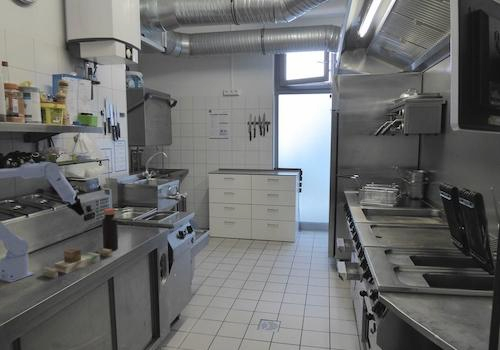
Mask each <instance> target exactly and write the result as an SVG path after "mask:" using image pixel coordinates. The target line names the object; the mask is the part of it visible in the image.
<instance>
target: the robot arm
mask: <svg viewBox="0 0 500 350" xmlns="http://www.w3.org/2000/svg"><path fill="white" fill-rule="evenodd" d="M14 177H15V178H16V177H21V178H22V179H24V180H26V179H35V178H43V177H46V179H47V180H48V181H49V183H50V184H51V186H52V187H53V189H54V190H55V191H56V193H57V194H58V195H59V196H60V198H61V200H62V201H63V202H67V204H66V207H68V209H69V210H70V209H71V210H72V211H74V212H75V213H76V214H77V215H78V216H80V217H81V216H83V215H84V214H85V210H84V209H83V206H82V203H81V199H80V198H78V193H79V190H78V189H74V188H73V187H72V185H71V184H70V183H69V181H68V180H67V178H66V176H64V174H63V173H62V172H61V168H60V165H58V164H56V163H54V162H50V161H39V162H37V163H31V162H25V163H24V164H21V165H20V166H19V167H17V168H2V169H1V168H0V180H1V179H8V178H9V179H10V178H14ZM0 241H1V242H2V243H3V244H4V248H5V249H6V250H7V252H6V253H5V256H4V257H2V258H0V281H5V282H7V283H13V282H15V281H19V280H21V279H24V278H28V277H29V276H33V275H35V272H32V271H30V268H29V266H30V265H29V264H30V263H29V248H30V244H29V242H28V241H27V240H25V239H23V238H22V237H21V236H19V235H16V234H15V233H14V232H13V231H12V230H10V228H9V227H8V226H6V225H5V224H4V223H3V222H2V221H1V220H0Z"/></svg>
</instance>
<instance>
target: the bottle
mask: <svg viewBox="0 0 500 350" xmlns="http://www.w3.org/2000/svg"><path fill="white" fill-rule="evenodd" d="M103 212H104V213H103V215H104V217H103V219H102V222H101V223H102V246H103V247H102V248H105V249H110V250H112V252H114V251H117V250H118V248H119V237H118V235H119V234H118V233H119V232H118V218H117V217H116V216H115V214H116V209H115V208H105V209H103Z"/></svg>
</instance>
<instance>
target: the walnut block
mask: <svg viewBox="0 0 500 350" xmlns="http://www.w3.org/2000/svg"><path fill="white" fill-rule="evenodd" d="M81 251H82V250H81V249H79V248H75V247H72V248H70V249H67V250H66V249H65V250H63V261H64V262H69V263H74V262H77V261H79V260H81V253H82V252H81Z"/></svg>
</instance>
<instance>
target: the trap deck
mask: <svg viewBox="0 0 500 350" xmlns="http://www.w3.org/2000/svg"><path fill="white" fill-rule="evenodd" d="M112 257H113V251H112V250H110V249H105V248H103V247H100V248H97V253H96V252H90V251H88V252H85V253H82V254H81V260H79V261H77V262H74V263H69V262H64V260H62V261H58V262H55V263H53V264H54V265H53V267H54V268H53V267H49V266H44V267H42V276H45V277H49V278H53V279H55V278H59V277H62V276H64V275H67V274H70V273H72V272H75V271H77V270H79V269H83V268H85V267H87V266H91V265H93V264H96V263H99V262H101V261H103V260H106V259H108V258H112Z"/></svg>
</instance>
